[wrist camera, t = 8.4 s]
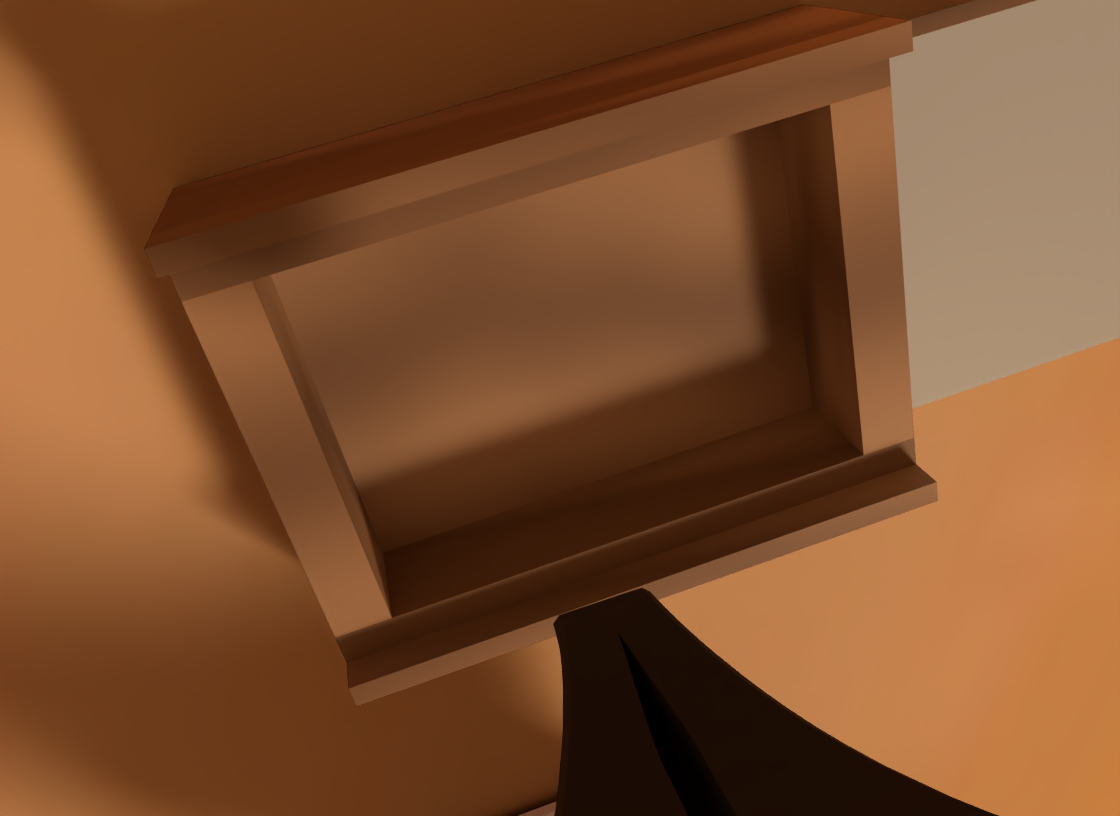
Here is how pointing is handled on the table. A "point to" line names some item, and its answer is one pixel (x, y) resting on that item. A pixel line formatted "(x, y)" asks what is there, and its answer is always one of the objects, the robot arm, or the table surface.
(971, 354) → the cover plate
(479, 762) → the table surface
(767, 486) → the walnut box
